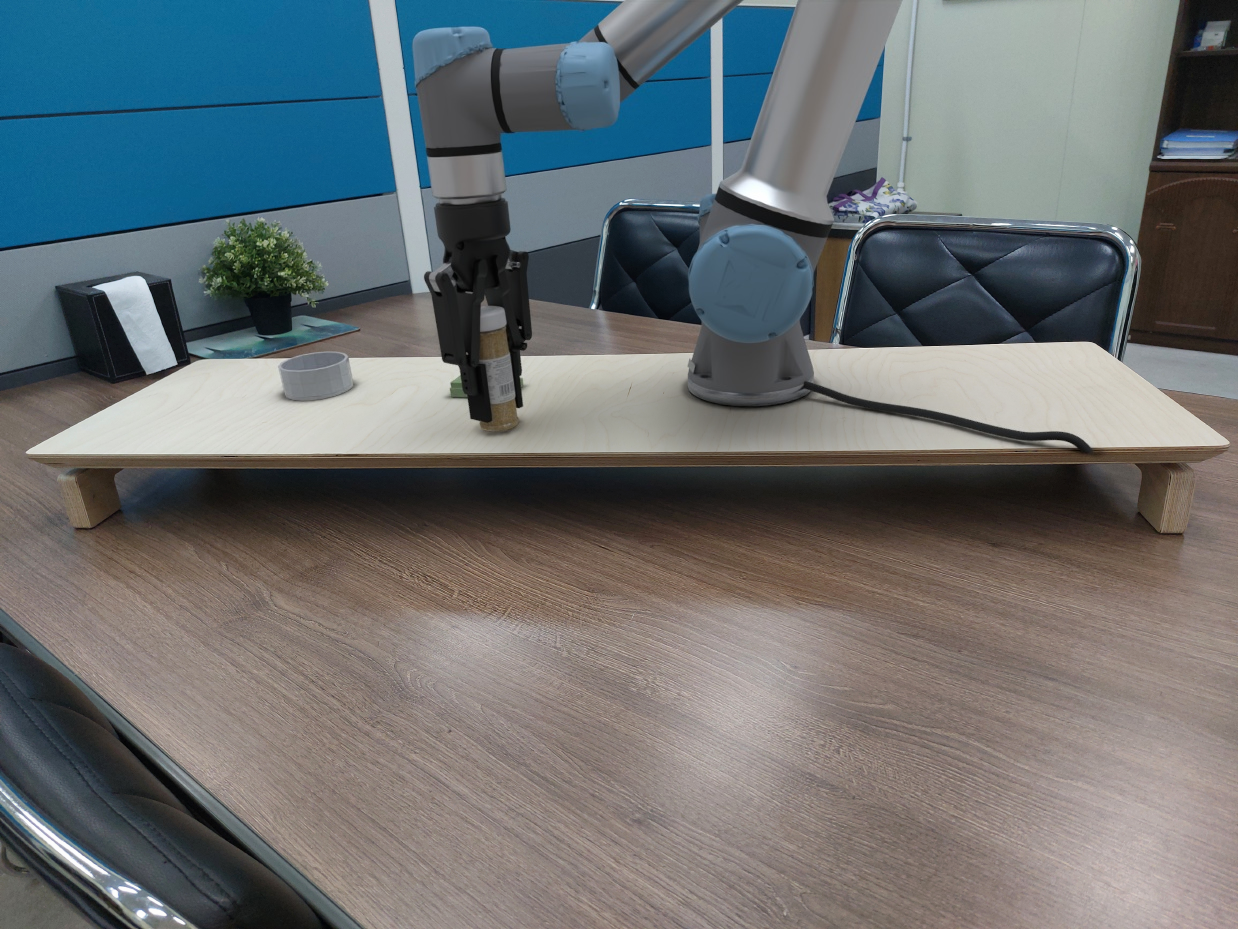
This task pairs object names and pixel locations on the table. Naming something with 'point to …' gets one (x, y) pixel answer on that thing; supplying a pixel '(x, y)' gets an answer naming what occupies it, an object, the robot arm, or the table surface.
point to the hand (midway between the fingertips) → (497, 412)
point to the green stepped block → (457, 387)
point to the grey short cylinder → (316, 375)
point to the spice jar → (497, 369)
